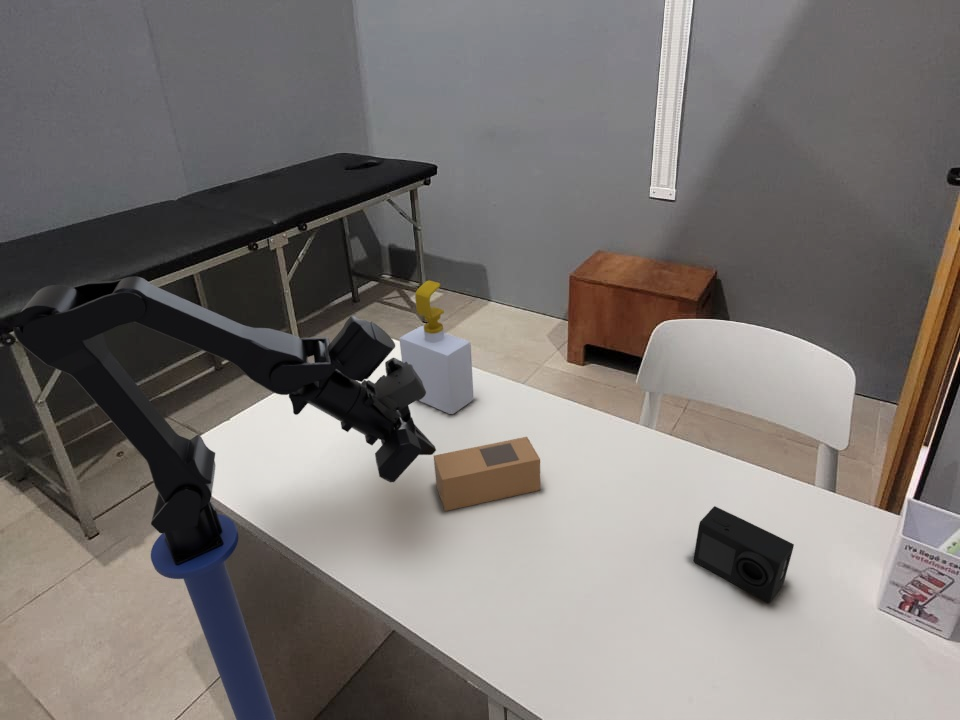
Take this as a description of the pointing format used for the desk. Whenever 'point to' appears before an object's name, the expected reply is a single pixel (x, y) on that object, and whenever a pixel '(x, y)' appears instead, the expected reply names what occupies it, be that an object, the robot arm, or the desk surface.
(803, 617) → the desk surface
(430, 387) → the soap bottle
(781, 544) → the digital camera
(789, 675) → the desk surface
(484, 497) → the carton
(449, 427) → the desk surface
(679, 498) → the desk surface
